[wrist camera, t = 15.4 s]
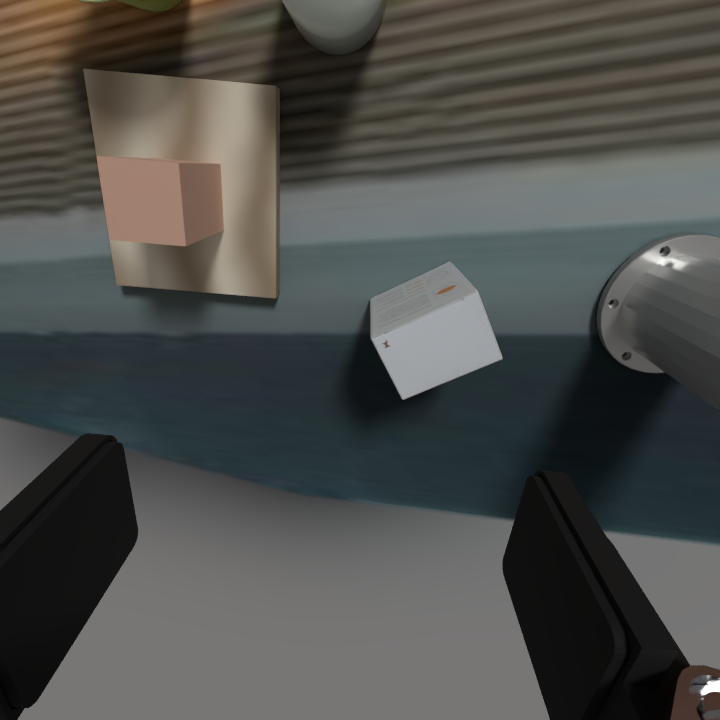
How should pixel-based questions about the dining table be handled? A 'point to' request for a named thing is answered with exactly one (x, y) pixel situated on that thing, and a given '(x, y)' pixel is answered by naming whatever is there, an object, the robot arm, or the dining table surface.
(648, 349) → the robot arm
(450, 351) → the small box
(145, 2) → the plant pot
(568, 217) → the dining table surface
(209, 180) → the block
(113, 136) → the board
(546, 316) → the dining table surface
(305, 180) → the dining table surface
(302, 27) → the pale rounded smooth block
